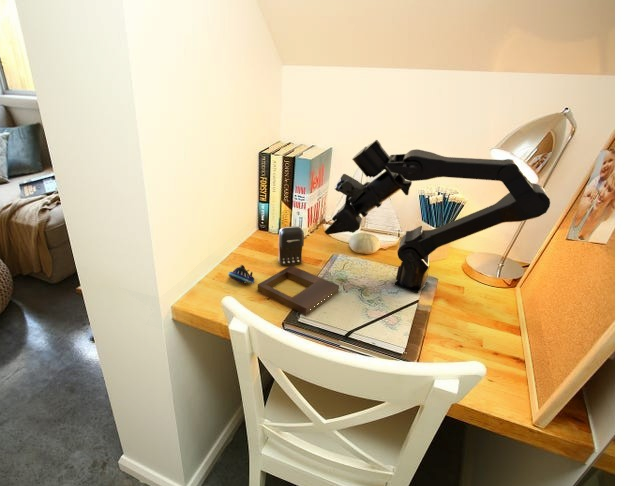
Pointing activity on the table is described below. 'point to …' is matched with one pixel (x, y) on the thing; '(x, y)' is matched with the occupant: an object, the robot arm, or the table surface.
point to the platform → (306, 298)
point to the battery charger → (290, 245)
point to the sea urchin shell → (364, 243)
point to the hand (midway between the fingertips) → (329, 226)
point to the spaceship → (241, 275)
